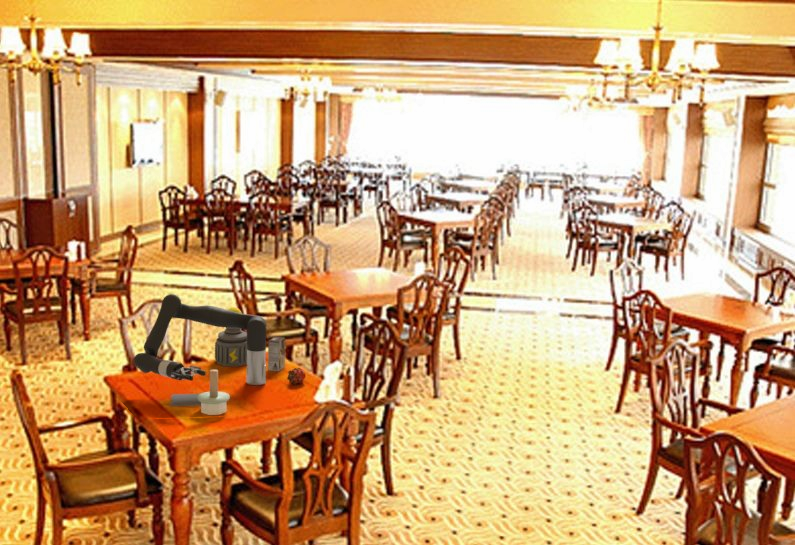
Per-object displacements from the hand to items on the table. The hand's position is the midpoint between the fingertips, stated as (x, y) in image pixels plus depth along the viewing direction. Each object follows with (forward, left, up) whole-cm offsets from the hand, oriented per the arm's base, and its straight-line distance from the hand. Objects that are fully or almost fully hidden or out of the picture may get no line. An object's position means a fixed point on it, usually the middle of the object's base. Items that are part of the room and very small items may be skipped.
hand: (198, 375), depth 386 cm
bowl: (-7, +5, -15) cm, 17 cm away
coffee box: (-40, -56, -15) cm, 70 cm away
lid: (-6, +5, -9) cm, 12 cm away
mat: (+4, -10, -15) cm, 18 cm away
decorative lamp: (-18, -69, -15) cm, 72 cm away
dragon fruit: (-48, -32, -15) cm, 59 cm away
